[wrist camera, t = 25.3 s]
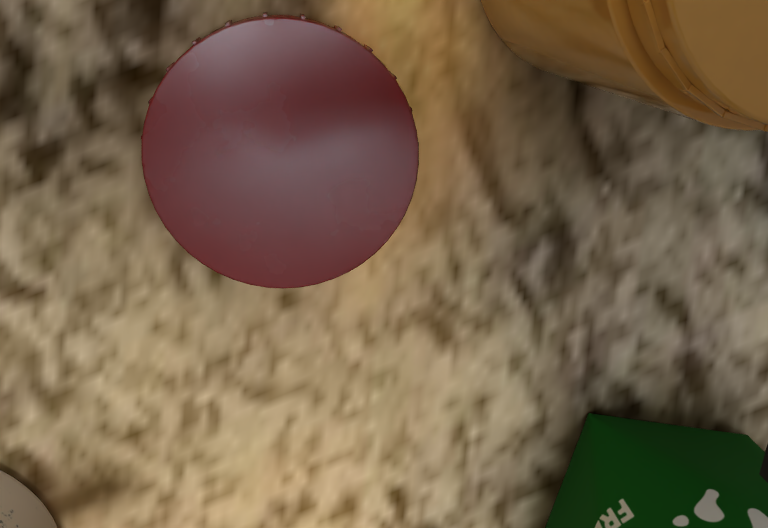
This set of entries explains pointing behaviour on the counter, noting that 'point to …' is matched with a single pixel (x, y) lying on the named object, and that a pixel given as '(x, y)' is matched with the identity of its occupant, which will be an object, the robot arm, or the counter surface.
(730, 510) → the milk carton
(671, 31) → the jam jar
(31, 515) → the teacup with lid
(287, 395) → the counter surface
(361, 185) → the jam lid
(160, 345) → the counter surface
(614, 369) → the counter surface
